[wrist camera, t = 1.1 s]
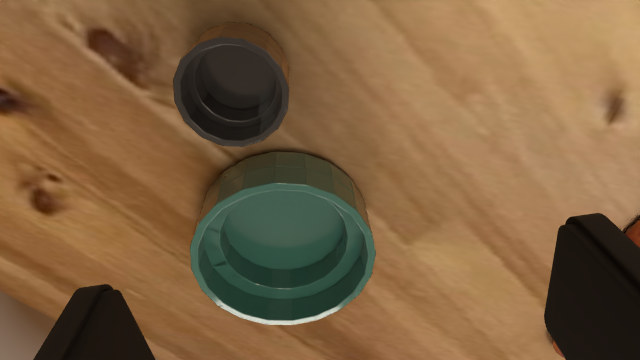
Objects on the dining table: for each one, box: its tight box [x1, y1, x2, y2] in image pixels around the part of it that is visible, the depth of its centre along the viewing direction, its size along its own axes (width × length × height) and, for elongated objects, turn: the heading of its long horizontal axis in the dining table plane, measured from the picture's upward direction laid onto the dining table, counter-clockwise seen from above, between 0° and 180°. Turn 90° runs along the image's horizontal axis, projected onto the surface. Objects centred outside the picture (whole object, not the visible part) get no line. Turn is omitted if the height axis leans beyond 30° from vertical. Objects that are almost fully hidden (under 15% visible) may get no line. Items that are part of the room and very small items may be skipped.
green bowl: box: [190, 151, 376, 325], centre depth 36 cm, size 14×14×6 cm
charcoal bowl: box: [173, 22, 289, 147], centre depth 29 cm, size 7×7×5 cm
